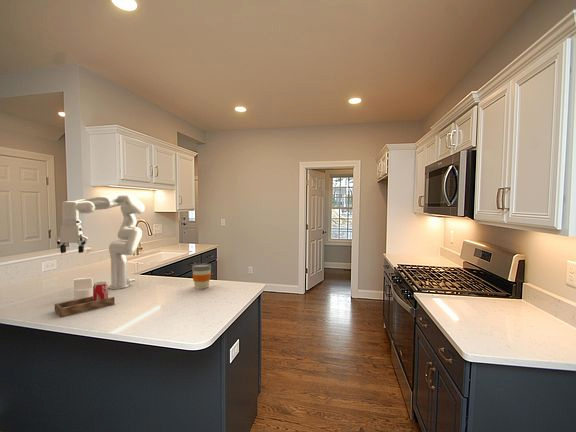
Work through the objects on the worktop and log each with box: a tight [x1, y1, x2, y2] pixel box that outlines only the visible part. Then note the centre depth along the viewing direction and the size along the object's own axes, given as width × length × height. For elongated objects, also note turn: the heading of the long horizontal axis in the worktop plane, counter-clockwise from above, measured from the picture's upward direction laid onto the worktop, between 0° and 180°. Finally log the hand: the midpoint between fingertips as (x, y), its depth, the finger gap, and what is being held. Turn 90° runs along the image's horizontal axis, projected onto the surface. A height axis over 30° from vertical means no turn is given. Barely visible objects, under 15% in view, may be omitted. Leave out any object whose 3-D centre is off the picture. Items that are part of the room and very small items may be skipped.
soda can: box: [93, 281, 109, 301], centre depth 156 cm, size 7×7×12 cm
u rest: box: [54, 296, 116, 318], centre depth 150 cm, size 24×12×4 cm, turn 140°
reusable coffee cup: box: [191, 263, 212, 290], centre depth 190 cm, size 12×13×15 cm
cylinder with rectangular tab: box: [73, 276, 94, 300], centre depth 166 cm, size 9×9×12 cm
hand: (72, 252), depth 159 cm, fingers open, 9 cm apart
